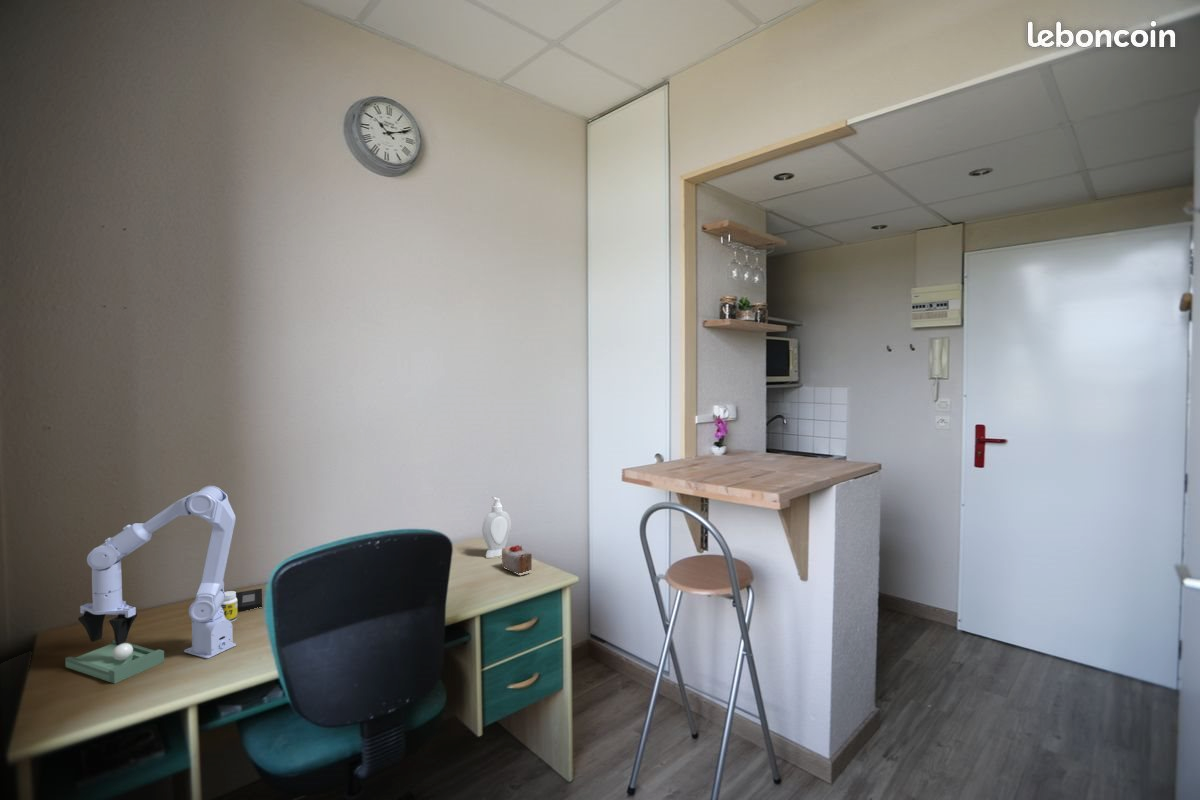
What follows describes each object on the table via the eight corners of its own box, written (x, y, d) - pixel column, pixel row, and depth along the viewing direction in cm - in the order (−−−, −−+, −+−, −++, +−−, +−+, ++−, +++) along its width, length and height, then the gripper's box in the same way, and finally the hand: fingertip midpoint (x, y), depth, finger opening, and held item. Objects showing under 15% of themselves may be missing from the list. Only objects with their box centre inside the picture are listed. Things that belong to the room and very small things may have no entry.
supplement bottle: (216, 624, 165) (215, 597, 165) (222, 618, 170) (221, 591, 170) (234, 622, 167) (234, 595, 166) (239, 616, 171) (239, 589, 171)
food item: (498, 568, 218) (498, 543, 217) (515, 563, 223) (515, 539, 223) (517, 577, 208) (517, 552, 207) (535, 573, 213) (535, 547, 212)
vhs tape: (262, 594, 190) (261, 588, 190) (262, 609, 178) (262, 603, 178) (235, 598, 186) (235, 592, 186) (234, 614, 174) (234, 608, 174)
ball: (122, 654, 144) (132, 661, 143) (105, 657, 140) (115, 664, 139) (129, 639, 145) (139, 646, 143) (113, 642, 141) (123, 648, 140)
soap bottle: (506, 550, 240) (506, 494, 239) (513, 555, 233) (514, 498, 232) (477, 555, 233) (478, 497, 232) (484, 560, 226) (484, 501, 225)
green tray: (164, 661, 144) (164, 650, 144) (114, 683, 134) (114, 671, 133) (116, 647, 151) (116, 636, 151) (65, 667, 141) (65, 655, 141)
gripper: (146, 586, 145) (147, 636, 146) (99, 582, 147) (101, 632, 148) (119, 596, 138) (120, 649, 139) (70, 592, 140) (72, 644, 141)
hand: (108, 641), depth 143 cm, fingers open, 7 cm apart
